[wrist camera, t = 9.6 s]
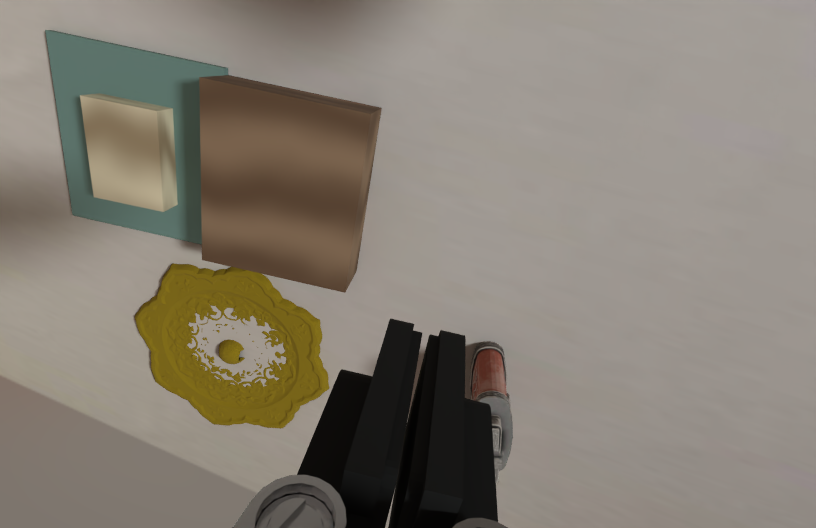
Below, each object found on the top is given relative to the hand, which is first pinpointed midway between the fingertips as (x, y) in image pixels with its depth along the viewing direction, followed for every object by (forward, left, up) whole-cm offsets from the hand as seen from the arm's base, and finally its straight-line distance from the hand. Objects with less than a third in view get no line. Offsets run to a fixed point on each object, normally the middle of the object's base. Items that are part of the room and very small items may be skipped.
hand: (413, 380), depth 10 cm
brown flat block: (+5, -12, -27) cm, 30 cm away
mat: (+5, -25, -27) cm, 37 cm away
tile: (+5, -25, -24) cm, 35 cm away
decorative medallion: (+24, -17, -28) cm, 41 cm away
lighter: (+20, +8, -27) cm, 35 cm away
